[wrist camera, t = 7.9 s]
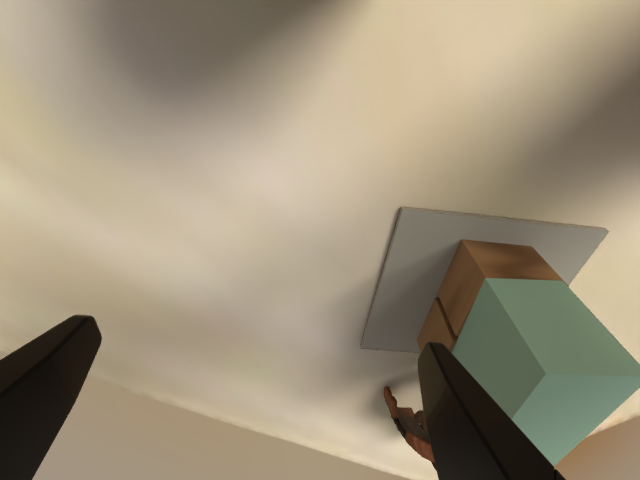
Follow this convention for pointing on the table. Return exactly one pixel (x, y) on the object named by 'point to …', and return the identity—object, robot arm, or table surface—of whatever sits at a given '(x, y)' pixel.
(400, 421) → the brown curved piece
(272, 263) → the table surface
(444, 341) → the brown wooden block
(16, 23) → the table surface
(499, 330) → the lintel
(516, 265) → the post
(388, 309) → the build mat
